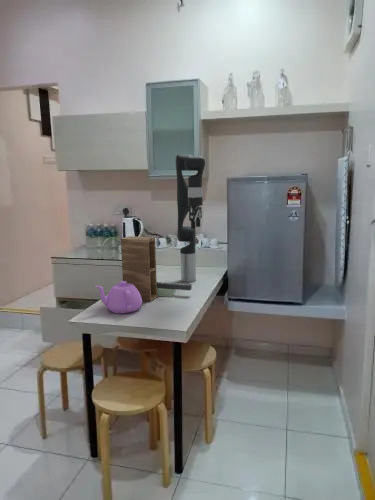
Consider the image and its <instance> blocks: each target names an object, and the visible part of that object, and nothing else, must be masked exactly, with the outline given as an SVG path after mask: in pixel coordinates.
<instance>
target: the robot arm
mask: <svg viewBox="0 0 375 500" xmlns="http://www.w3.org/2000/svg"><path fill="white" fill-rule="evenodd" d="M205 167H206V159H205V158H204V157H203V156H200V155H199V156H194V155H193V154H188V153H187V154H177V155H176V156H175V171H176V172H175V174H176V204H177V233H176V234H177V240H178V242H179V243H182V242H183V243H184V242H186V243H189V244H187V245H185V246H182V247H181V248H179V249H180V254H179V255H180V258H179V259H180V281H181V282H183V283H191V282H192V283H193V282H196V281H197V268H196V267H197V266H196V265H197V263H196V261H197V260H196V259H197V258H196V257H197V256H196V237H197V236H196V235H197V234H196V232H197V231H196V228H199V227H201V219H202V217H203V213H202V206H203V203H204V202H203V201H204V199H203V198H204V197H203V175H204V174H203V173H204V170H205ZM184 171H185V172H186V171H188V172H190V171H192V172H193V171H197V172H196V174H192V175H190V176H188V178H187V182H186V180H185V177H184V175H183V172H184ZM187 215H188V220H189V221H190V225H189V226H186V225H185V226H184V221H185V219H186V217H187Z"/></svg>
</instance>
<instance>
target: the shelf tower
mask: <svg viewBox="0 0 375 500" xmlns="http://www.w3.org/2000/svg"><path fill="white" fill-rule="evenodd" d="M120 249H121V251H120V252H121V271H122V272H121V273H122V281H126V282H127V283H128V284H133V285H134V286H135V287H136V288H137V290H138V291H139V293H140V295H141V298H142V302H146V303H147V302H148V303H151V302H152V301H154V300H155V299H157V298H158V296H157V282H158V281H157V278H158V277H157V255H156V254H157V252H156V237H155V236H133V235H131V236H129V235H128V236H126V237H121V238H120Z"/></svg>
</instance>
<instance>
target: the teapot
mask: <svg viewBox="0 0 375 500" xmlns="http://www.w3.org/2000/svg"><path fill="white" fill-rule="evenodd" d="M94 286H95V287H96V288H98V290H99V295H100V296H99V297H100V300H101V302H102V303H103V305H105V306H106V308H107V309H108V310H109V311H110V312H111V313H114V314H130V313H133V312H136V311H138V310H139V309H140V308H141V306H142V305H143V301H142V298H141V295H140V293H139V291H138V290H137V288H136V287H135V286H134V285H133V284H128V283H127V282H126V281H123V280H121V281H119V282H118V283H117V284H114V285H113V286H112V287H111V288H110V290H109V292H108V293H107V296H106V295H105V291H104V287H103V286H101V285H94Z"/></svg>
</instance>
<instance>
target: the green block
mask: <svg viewBox="0 0 375 500" xmlns="http://www.w3.org/2000/svg"><path fill="white" fill-rule="evenodd" d="M176 290H177V289H163V288H157V297H158V296H159V297H170V298H171V297H172V296H174V295H175V294H176Z"/></svg>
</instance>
